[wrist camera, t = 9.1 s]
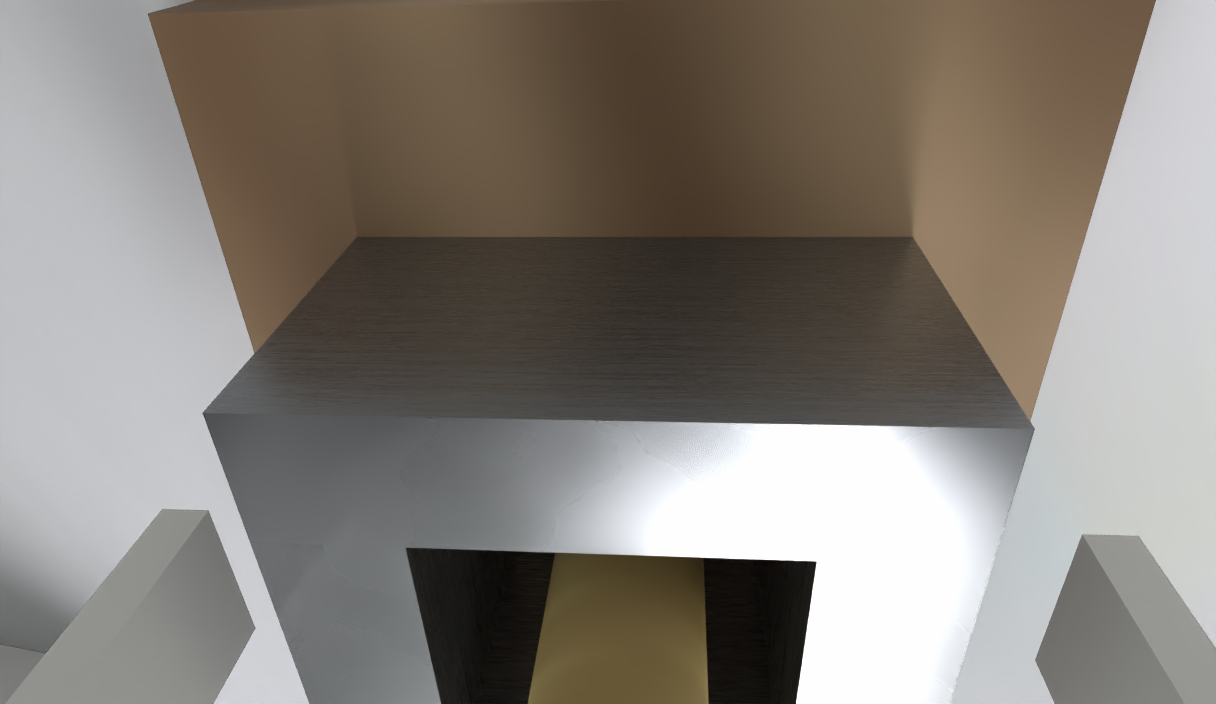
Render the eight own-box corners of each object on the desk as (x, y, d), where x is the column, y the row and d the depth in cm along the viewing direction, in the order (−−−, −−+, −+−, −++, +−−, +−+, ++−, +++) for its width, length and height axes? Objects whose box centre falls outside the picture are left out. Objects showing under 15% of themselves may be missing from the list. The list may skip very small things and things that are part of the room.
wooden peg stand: (382, 649, 21) (254, 987, 15) (200, -1, 13) (-275, 129, 6) (922, 671, 20) (1036, 1050, 14) (1107, -28, 12) (1628, 98, 5)
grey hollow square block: (436, 607, 18) (359, 839, 14) (356, 236, 13) (202, 412, 9) (843, 623, 17) (897, 874, 13) (913, 237, 12) (1034, 428, 8)
